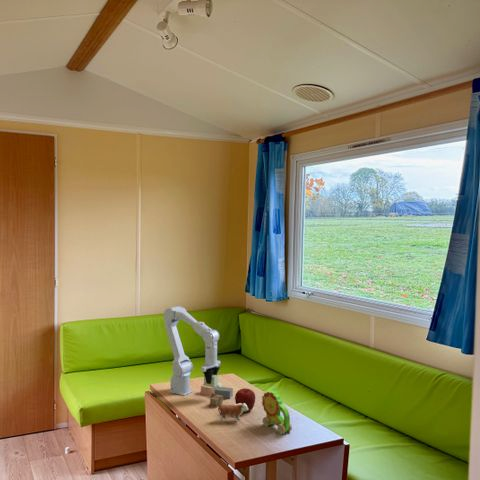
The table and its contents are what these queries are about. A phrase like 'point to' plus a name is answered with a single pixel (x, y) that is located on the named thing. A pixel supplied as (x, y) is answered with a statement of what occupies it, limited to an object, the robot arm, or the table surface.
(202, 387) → the terracotta brick
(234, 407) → the bull figurine
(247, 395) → the apple
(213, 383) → the sage brick
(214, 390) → the pale grey brick
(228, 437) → the table surface
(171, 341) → the robot arm
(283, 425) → the toy lion
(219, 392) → the charcoal brick
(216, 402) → the walnut brick
